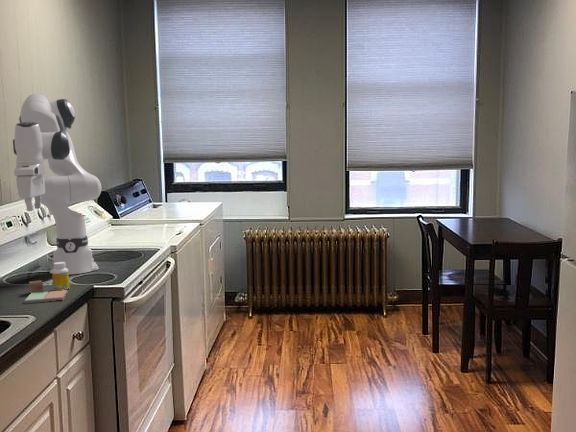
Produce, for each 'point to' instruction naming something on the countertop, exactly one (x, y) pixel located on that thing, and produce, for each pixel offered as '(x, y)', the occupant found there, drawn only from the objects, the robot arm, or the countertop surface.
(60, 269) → the supplement bottle
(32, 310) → the countertop surface
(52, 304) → the countertop surface
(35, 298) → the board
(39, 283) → the walnut block
